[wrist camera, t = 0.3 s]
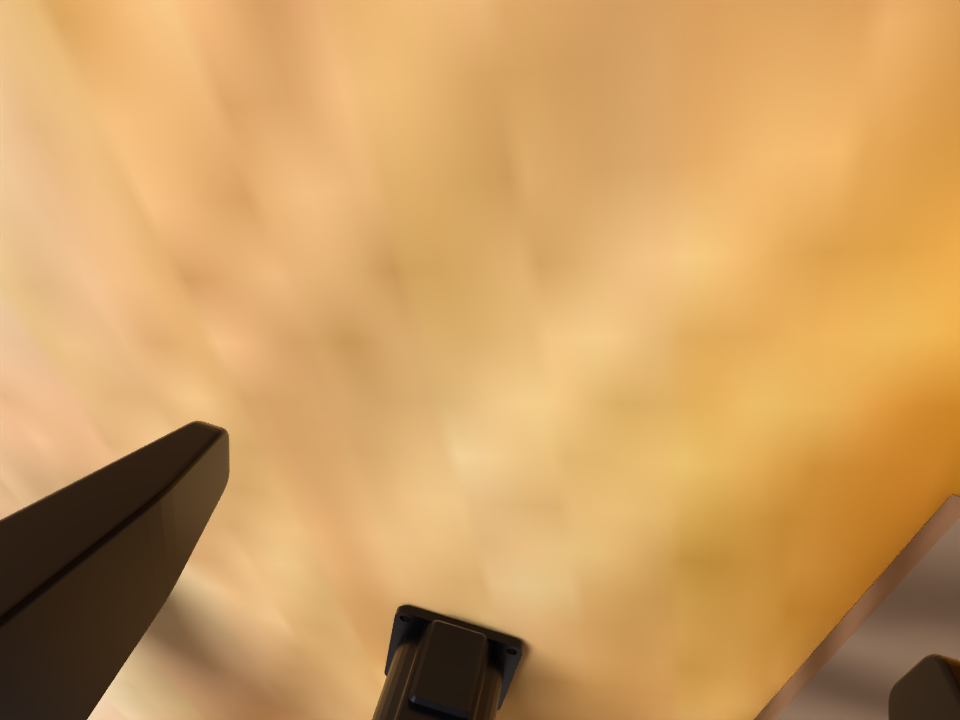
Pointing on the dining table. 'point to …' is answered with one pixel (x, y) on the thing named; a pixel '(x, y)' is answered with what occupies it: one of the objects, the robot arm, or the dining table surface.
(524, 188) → the dining table surface
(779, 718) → the board
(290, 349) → the dining table surface
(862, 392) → the dining table surface
